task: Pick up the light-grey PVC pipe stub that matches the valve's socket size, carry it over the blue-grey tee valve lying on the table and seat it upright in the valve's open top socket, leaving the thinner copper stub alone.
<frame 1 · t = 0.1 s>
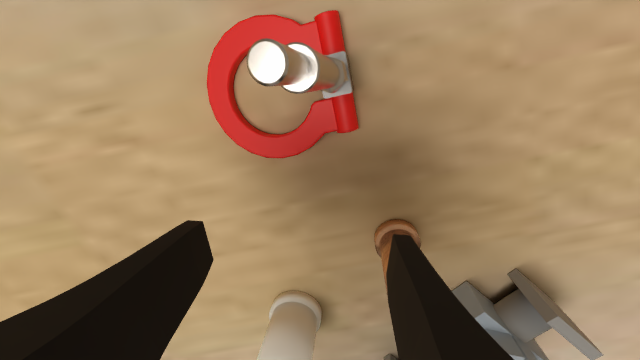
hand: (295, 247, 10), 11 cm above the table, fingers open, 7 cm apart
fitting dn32: (395, 237, 21), on the table
tow hook: (281, 91, 19), on the table
valve: (461, 331, 24), on the table
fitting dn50: (296, 310, 25), on the table
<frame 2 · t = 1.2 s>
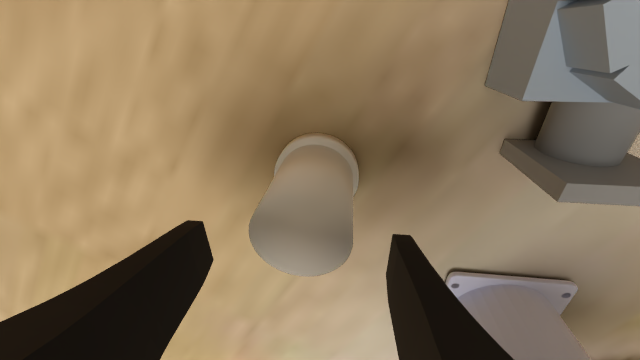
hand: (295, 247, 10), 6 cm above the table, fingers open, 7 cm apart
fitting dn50: (317, 171, 16), on the table
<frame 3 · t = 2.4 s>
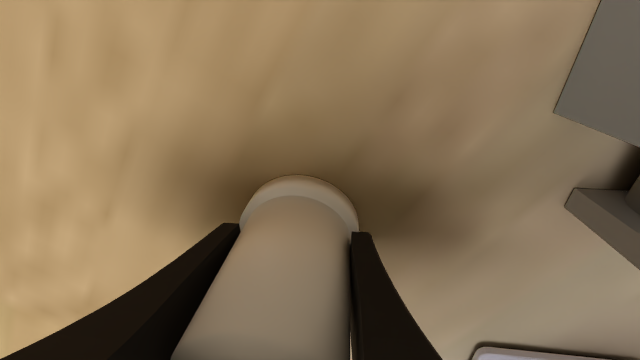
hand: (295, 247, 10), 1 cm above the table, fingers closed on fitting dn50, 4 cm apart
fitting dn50: (302, 224, 11), on the table, touching gripper
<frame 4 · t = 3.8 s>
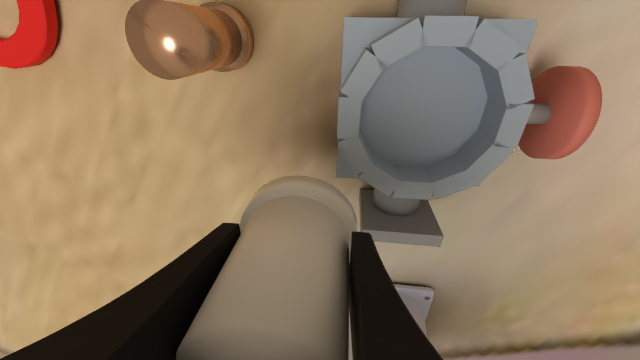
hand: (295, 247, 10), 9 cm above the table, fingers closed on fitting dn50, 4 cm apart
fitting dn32: (225, 38, 16), on the table
valve: (408, 98, 16), on the table
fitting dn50: (301, 223, 12), point 8 cm above the table, touching gripper
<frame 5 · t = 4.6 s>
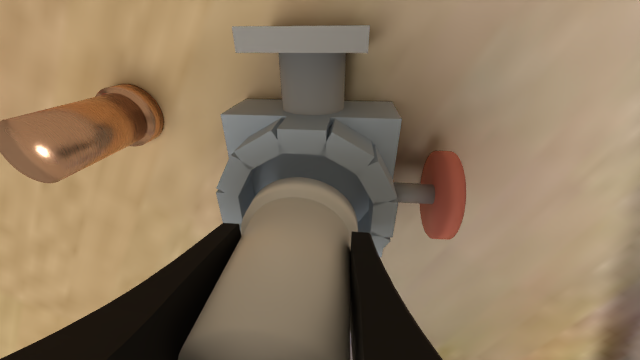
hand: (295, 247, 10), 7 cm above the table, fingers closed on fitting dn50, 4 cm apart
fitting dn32: (135, 113, 16), on the table
valve: (317, 166, 16), on the table
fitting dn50: (302, 225, 12), point 5 cm above the table, touching gripper
when the fingers open (6 cm above the table, at t = 5.2 s): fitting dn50 stays where it is, resting on valve.
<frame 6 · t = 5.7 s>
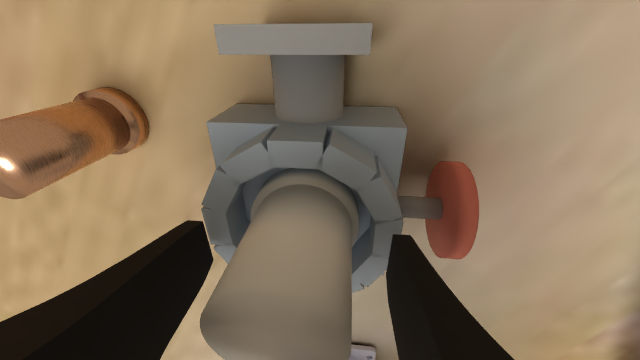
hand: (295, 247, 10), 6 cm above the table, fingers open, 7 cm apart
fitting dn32: (118, 119, 15), on the table
valve: (314, 175, 15), on the table
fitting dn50: (307, 212, 12), point 3 cm above the table, touching valve
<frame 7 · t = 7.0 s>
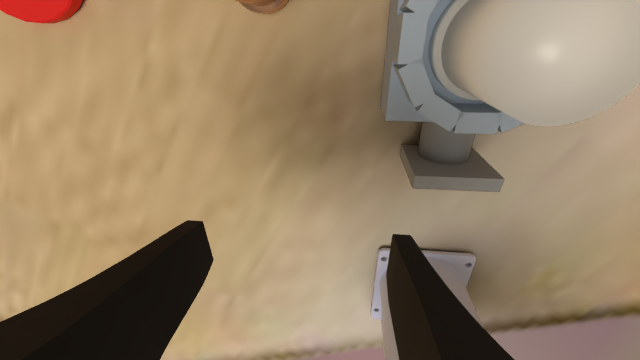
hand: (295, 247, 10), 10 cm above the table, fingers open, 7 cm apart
valve: (459, 36, 15), on the table
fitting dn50: (482, 42, 12), point 3 cm above the table, touching valve
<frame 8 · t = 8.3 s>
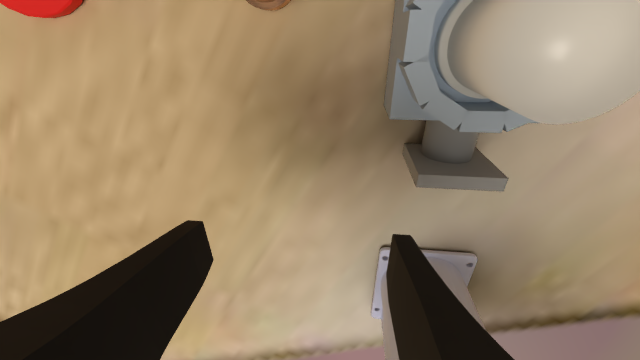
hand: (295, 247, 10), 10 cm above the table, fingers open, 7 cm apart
valve: (463, 35, 15), on the table
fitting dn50: (488, 41, 12), point 3 cm above the table, touching valve
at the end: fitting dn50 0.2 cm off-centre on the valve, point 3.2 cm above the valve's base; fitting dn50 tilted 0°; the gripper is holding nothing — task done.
